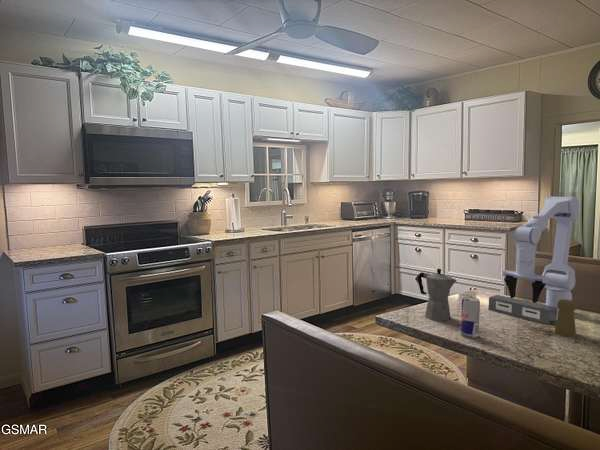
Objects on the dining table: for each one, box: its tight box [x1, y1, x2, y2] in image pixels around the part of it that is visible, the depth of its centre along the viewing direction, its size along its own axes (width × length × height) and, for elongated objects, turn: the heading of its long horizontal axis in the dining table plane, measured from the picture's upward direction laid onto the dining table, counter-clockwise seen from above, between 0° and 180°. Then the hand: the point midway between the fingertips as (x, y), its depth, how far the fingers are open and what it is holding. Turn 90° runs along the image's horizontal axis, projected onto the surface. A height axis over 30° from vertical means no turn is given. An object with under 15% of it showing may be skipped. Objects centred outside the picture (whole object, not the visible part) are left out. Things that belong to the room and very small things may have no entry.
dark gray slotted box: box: [488, 294, 558, 325], centre depth 155 cm, size 6×22×5 cm, turn 36°
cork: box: [553, 299, 577, 337], centre depth 136 cm, size 6×6×11 cm
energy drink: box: [460, 296, 481, 339], centre depth 133 cm, size 5×5×12 cm
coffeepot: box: [416, 268, 457, 322], centre depth 153 cm, size 15×9×18 cm, turn 44°
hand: (523, 299), depth 145 cm, fingers open, 7 cm apart
